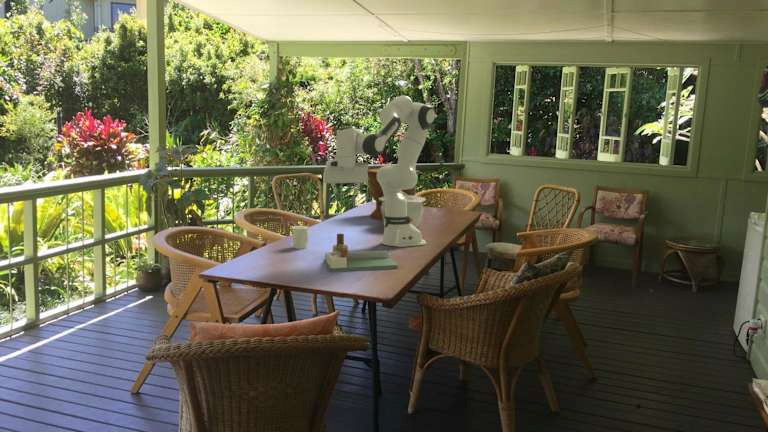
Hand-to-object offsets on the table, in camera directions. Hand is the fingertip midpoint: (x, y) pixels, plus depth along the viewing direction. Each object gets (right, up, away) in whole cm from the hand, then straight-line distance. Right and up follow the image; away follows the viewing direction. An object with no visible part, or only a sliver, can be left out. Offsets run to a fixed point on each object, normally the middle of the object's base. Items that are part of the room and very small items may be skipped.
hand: (345, 192), depth 284 cm
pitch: (+7, -32, -13) cm, 35 cm away
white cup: (-23, -26, +21) cm, 41 cm away
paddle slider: (-1, -30, -14) cm, 33 cm away
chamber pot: (+28, -17, +79) cm, 86 cm away
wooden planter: (+23, -11, +115) cm, 117 cm away
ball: (-3, -29, -19) cm, 35 cm away
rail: (+5, -29, -8) cm, 31 cm away
